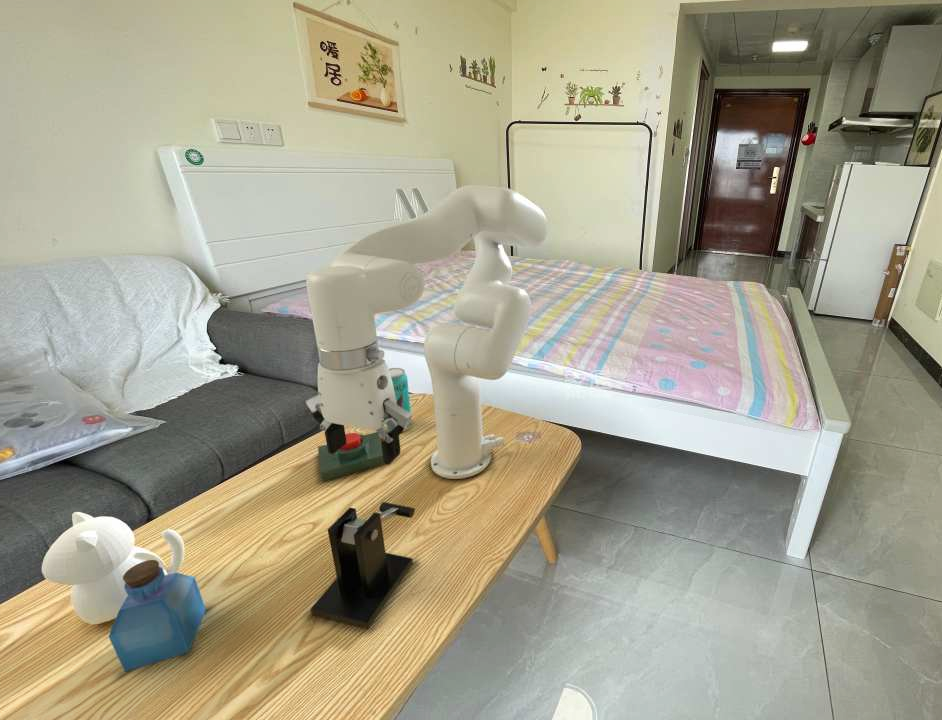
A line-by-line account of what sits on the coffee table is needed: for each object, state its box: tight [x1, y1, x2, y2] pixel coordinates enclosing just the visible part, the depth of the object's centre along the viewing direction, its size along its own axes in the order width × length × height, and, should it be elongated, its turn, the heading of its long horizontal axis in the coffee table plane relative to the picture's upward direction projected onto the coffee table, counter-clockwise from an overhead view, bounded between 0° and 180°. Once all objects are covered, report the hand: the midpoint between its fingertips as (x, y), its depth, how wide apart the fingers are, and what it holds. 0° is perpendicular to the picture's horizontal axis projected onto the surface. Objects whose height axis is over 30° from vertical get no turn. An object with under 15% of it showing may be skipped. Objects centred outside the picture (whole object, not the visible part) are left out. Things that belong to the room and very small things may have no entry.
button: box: [341, 432, 361, 450], centre depth 92 cm, size 4×4×2 cm
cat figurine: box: [41, 511, 185, 625], centre depth 60 cm, size 9×12×15 cm
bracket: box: [309, 507, 414, 630], centre depth 63 cm, size 11×9×13 cm
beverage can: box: [385, 367, 412, 432], centre depth 104 cm, size 6×6×15 cm
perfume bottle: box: [108, 560, 207, 672], centre depth 55 cm, size 6×6×12 cm
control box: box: [317, 431, 385, 482], centre depth 93 cm, size 12×10×4 cm
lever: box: [341, 501, 416, 545], centre depth 67 cm, size 12×6×2 cm, turn 169°
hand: (364, 453), depth 68 cm, fingers open, 9 cm apart
